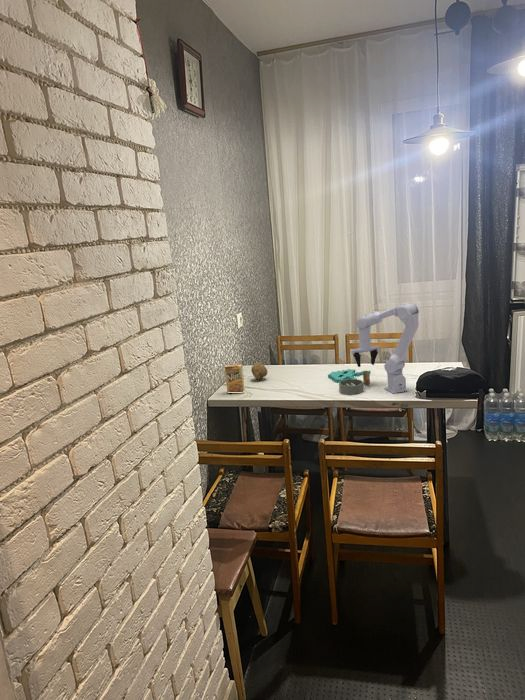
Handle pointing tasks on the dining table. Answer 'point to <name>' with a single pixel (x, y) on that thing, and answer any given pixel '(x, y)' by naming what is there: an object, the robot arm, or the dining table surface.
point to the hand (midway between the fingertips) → (365, 365)
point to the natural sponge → (259, 371)
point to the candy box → (234, 378)
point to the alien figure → (344, 375)
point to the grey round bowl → (351, 386)
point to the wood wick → (366, 378)
